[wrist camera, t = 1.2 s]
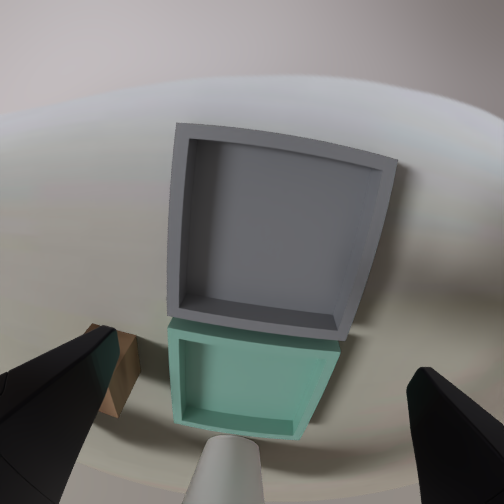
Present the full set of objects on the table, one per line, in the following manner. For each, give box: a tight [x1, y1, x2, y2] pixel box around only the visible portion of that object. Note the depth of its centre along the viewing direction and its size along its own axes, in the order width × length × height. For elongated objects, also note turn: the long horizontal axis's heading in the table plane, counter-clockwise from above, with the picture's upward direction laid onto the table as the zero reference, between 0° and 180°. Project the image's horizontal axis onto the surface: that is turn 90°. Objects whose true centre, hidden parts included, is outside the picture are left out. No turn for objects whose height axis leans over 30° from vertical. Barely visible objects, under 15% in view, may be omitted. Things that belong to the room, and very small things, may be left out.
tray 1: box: [167, 123, 398, 341], centre depth 17 cm, size 12×12×2 cm
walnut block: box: [84, 323, 141, 418], centre depth 21 cm, size 4×4×6 cm
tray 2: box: [168, 317, 341, 440], centre depth 22 cm, size 12×12×2 cm
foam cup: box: [182, 435, 265, 504], centre depth 23 cm, size 10×9×13 cm
